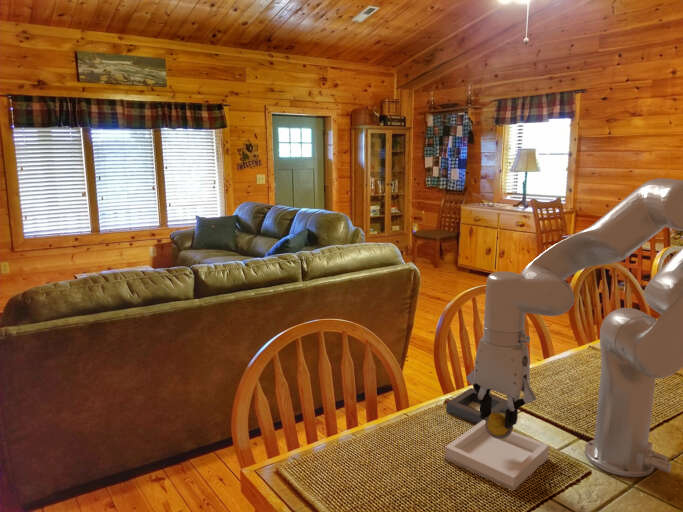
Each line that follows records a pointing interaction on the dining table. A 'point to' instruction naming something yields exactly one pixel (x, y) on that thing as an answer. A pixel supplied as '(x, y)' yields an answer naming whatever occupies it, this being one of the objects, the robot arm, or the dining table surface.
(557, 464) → the dining table surface
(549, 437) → the dining table surface
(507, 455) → the tray
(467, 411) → the socket collar
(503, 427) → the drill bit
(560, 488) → the dining table surface
